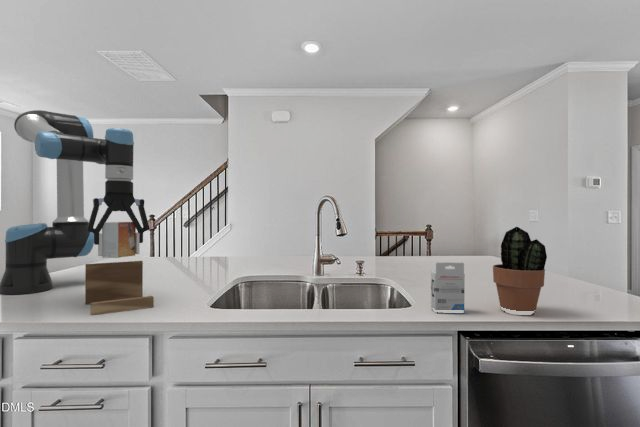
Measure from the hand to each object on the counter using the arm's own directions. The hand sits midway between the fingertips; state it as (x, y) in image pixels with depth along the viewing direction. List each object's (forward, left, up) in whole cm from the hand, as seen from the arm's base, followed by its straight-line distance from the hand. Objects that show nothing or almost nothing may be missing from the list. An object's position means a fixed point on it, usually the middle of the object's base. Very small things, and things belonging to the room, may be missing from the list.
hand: (119, 254), depth 118 cm
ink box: (+61, +77, -15) cm, 99 cm away
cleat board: (0, 0, -15) cm, 15 cm away
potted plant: (+73, +94, -15) cm, 120 cm away
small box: (0, 0, -1) cm, 1 cm away
